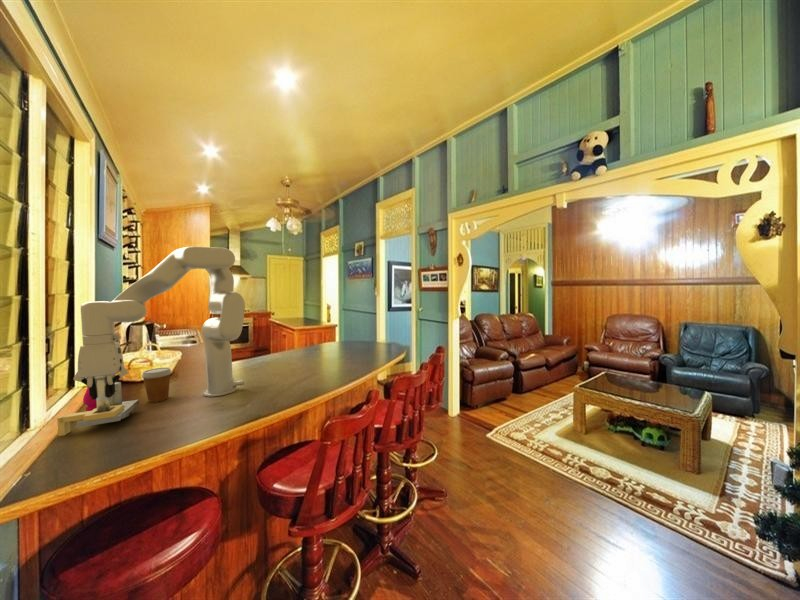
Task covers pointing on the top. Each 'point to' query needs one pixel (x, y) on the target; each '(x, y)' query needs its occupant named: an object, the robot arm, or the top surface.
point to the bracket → (85, 417)
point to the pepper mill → (89, 401)
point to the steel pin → (101, 394)
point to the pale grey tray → (114, 401)
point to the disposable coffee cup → (157, 383)
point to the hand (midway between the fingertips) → (102, 396)
